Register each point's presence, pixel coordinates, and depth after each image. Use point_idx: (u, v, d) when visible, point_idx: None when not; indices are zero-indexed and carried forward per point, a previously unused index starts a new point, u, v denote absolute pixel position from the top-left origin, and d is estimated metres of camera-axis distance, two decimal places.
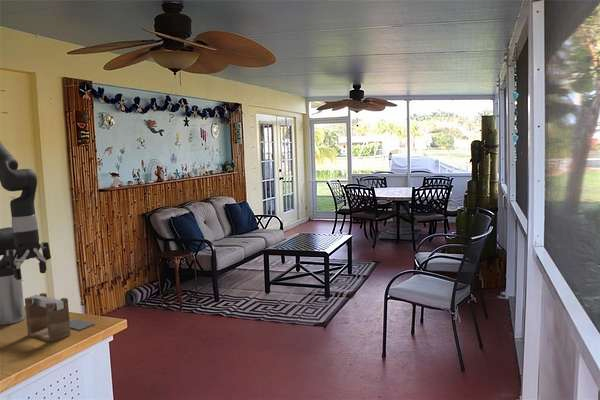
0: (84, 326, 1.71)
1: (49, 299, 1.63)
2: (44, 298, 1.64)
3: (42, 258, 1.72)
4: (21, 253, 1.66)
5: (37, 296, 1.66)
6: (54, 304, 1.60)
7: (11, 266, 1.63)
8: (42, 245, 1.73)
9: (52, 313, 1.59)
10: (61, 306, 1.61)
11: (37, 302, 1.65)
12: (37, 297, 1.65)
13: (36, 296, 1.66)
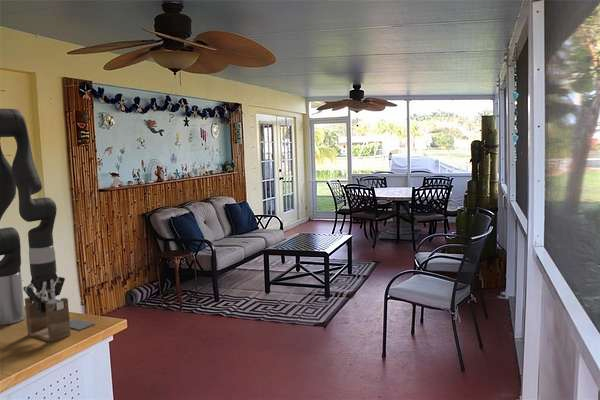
0: (84, 326, 1.71)
1: (49, 299, 1.63)
2: None
3: (51, 295, 1.64)
4: (39, 287, 1.60)
5: None
6: (54, 304, 1.60)
7: (36, 300, 1.60)
8: (58, 279, 1.67)
9: (52, 313, 1.59)
10: (61, 306, 1.61)
11: (37, 302, 1.65)
12: None
13: None
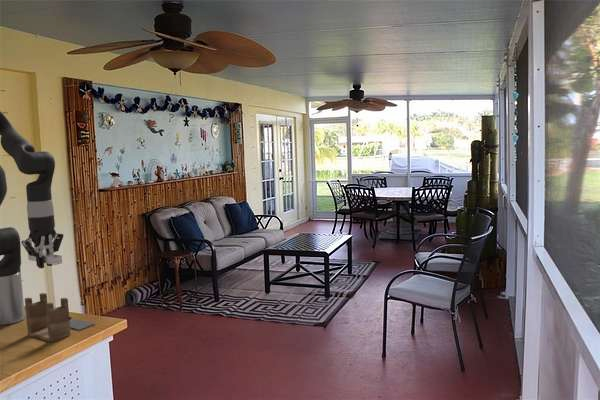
0: (84, 326, 1.71)
1: (47, 254, 1.62)
2: None
3: (49, 250, 1.63)
4: (37, 242, 1.59)
5: None
6: (52, 259, 1.59)
7: (34, 255, 1.58)
8: (57, 235, 1.66)
9: (52, 313, 1.59)
10: (59, 261, 1.60)
11: (35, 258, 1.63)
12: None
13: None
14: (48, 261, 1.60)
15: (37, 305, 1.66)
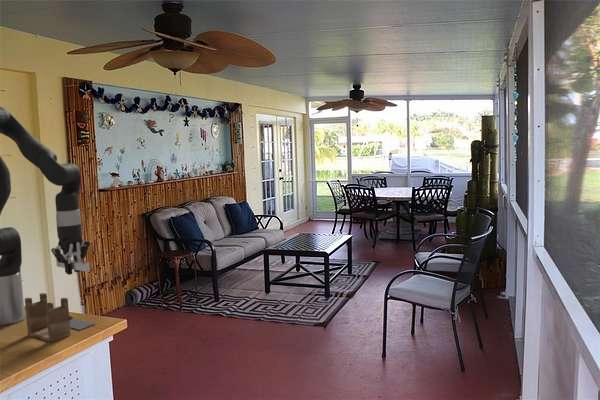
0: (84, 326, 1.71)
1: (75, 261, 1.70)
2: None
3: (77, 257, 1.71)
4: (66, 249, 1.67)
5: None
6: (81, 265, 1.67)
7: (63, 262, 1.66)
8: (83, 242, 1.74)
9: (52, 313, 1.59)
10: (87, 267, 1.68)
11: (63, 265, 1.71)
12: None
13: None
14: (77, 267, 1.68)
15: (37, 305, 1.66)
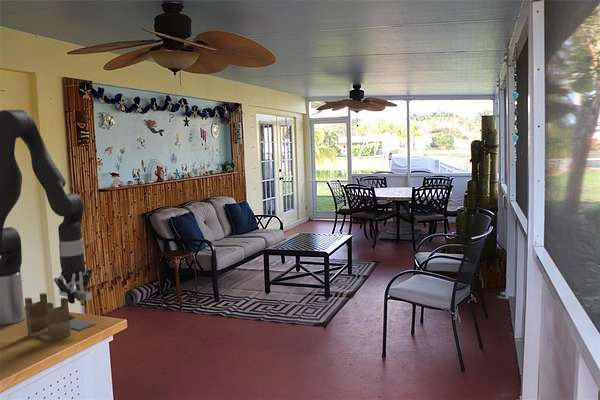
0: (84, 326, 1.71)
1: (78, 290, 1.71)
2: None
3: (80, 286, 1.72)
4: (69, 279, 1.69)
5: None
6: (83, 295, 1.68)
7: (66, 291, 1.68)
8: (86, 271, 1.75)
9: (52, 313, 1.59)
10: (90, 297, 1.69)
11: (66, 294, 1.73)
12: None
13: None
14: (79, 297, 1.69)
15: (37, 305, 1.66)
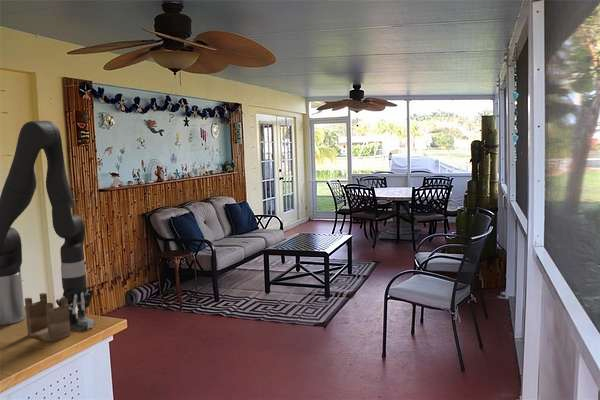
0: None
1: (80, 317, 1.73)
2: None
3: (81, 307, 1.73)
4: (71, 300, 1.70)
5: None
6: (85, 323, 1.70)
7: None
8: (87, 291, 1.76)
9: (52, 313, 1.59)
10: (91, 325, 1.71)
11: None
12: None
13: None
14: (81, 324, 1.71)
15: (37, 305, 1.66)
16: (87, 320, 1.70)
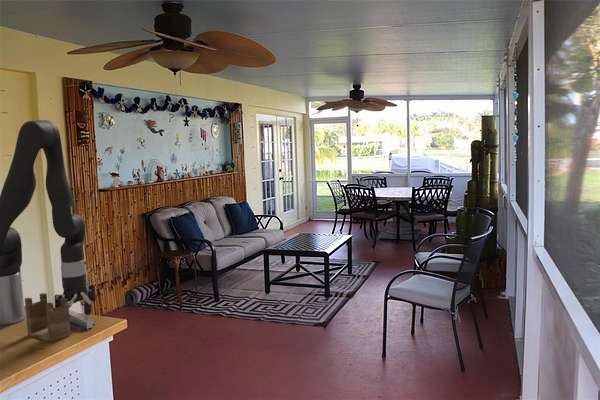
0: None
1: (80, 316, 1.73)
2: (76, 315, 1.74)
3: (88, 301, 1.76)
4: (69, 297, 1.69)
5: (69, 312, 1.76)
6: (84, 323, 1.70)
7: None
8: (88, 288, 1.76)
9: (52, 313, 1.59)
10: (91, 325, 1.71)
11: None
12: (69, 312, 1.75)
13: None
14: (81, 324, 1.71)
15: (37, 305, 1.66)
16: (86, 320, 1.70)
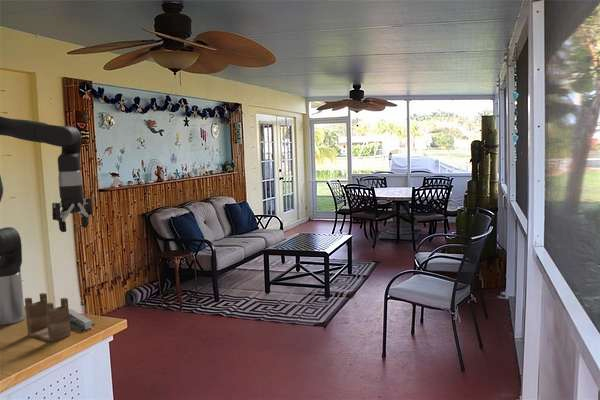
0: None
1: (80, 317, 1.73)
2: (76, 314, 1.74)
3: (85, 213, 1.80)
4: (66, 206, 1.73)
5: (70, 311, 1.76)
6: (83, 323, 1.69)
7: (57, 218, 1.70)
8: (85, 201, 1.80)
9: (52, 313, 1.59)
10: (89, 326, 1.70)
11: (69, 317, 1.75)
12: (70, 312, 1.76)
13: (70, 311, 1.77)
14: (80, 324, 1.71)
15: (37, 305, 1.66)
16: (85, 320, 1.70)
